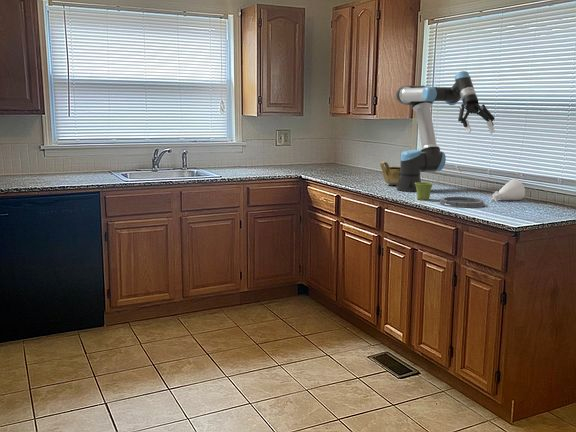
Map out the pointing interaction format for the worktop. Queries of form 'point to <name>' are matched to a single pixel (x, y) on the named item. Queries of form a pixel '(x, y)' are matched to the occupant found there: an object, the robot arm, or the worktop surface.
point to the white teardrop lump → (510, 191)
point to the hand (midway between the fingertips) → (481, 132)
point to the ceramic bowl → (390, 173)
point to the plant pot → (423, 190)
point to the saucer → (462, 202)
